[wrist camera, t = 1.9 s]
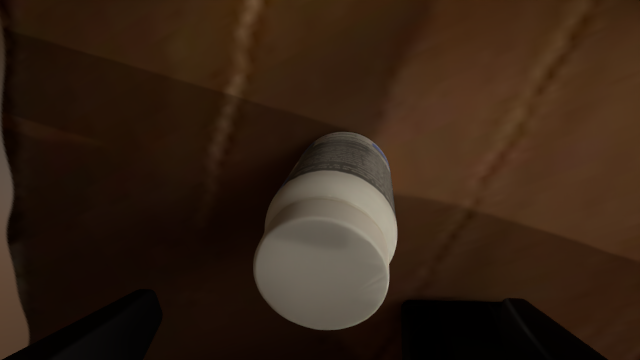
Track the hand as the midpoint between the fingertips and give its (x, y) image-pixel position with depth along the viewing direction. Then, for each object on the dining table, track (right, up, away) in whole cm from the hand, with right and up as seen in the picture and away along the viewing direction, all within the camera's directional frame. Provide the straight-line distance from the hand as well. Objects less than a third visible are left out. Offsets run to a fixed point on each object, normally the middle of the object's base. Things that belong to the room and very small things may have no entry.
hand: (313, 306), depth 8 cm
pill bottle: (+1, +4, +9) cm, 10 cm away
